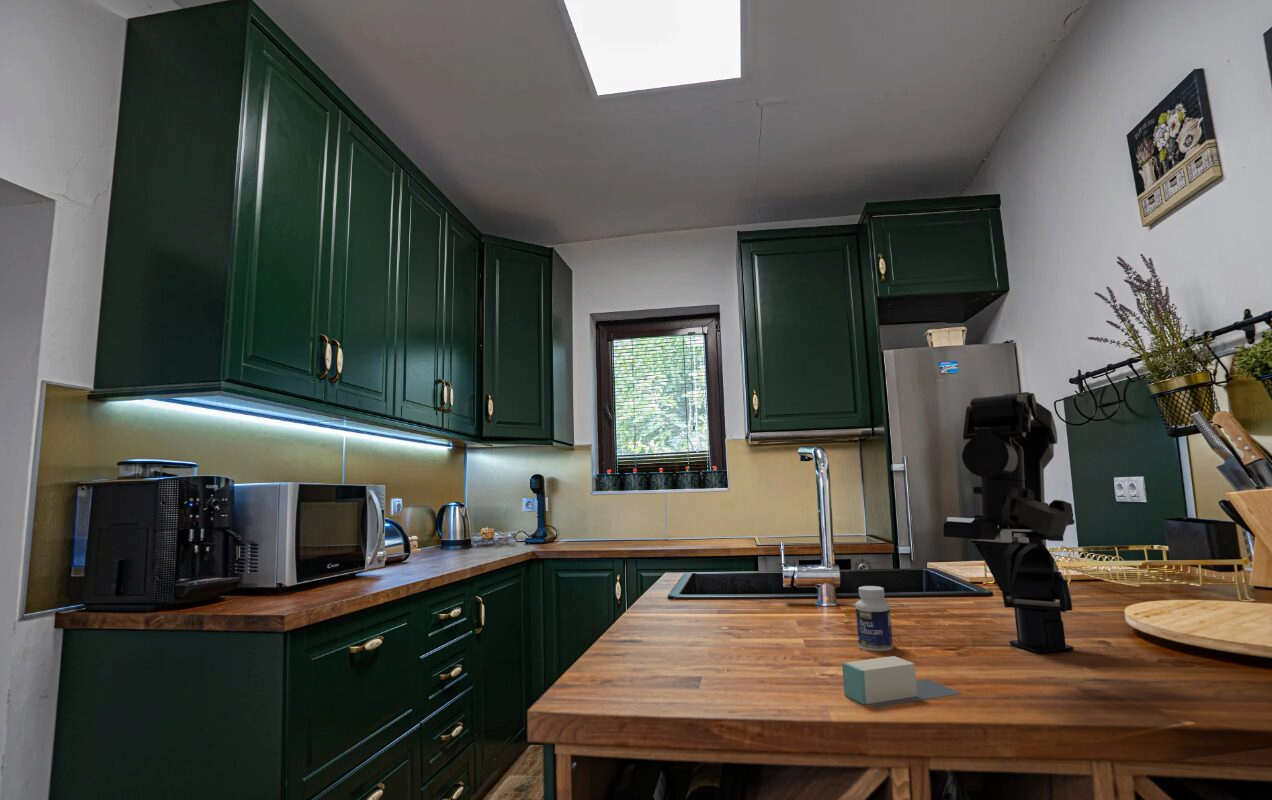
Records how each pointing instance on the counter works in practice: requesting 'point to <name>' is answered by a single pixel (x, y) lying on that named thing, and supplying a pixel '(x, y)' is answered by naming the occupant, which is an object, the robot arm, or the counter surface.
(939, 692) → the slate mat
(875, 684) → the cream block
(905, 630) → the counter surface
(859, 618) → the pill bottle
